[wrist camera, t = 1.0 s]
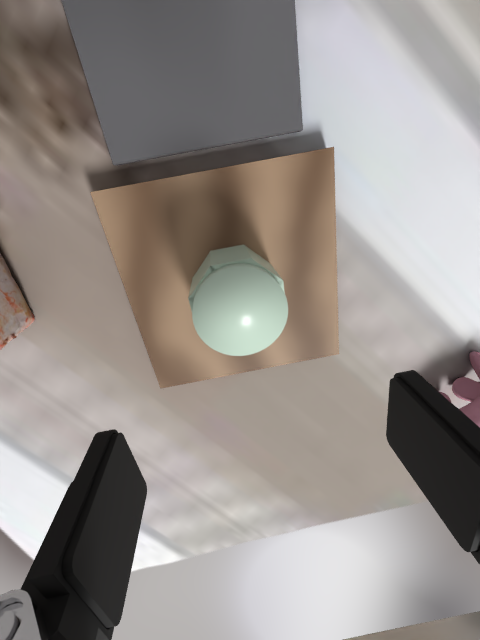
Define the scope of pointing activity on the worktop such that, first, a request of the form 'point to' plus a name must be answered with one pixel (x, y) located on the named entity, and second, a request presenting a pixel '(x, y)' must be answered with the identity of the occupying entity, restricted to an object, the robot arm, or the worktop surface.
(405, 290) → the worktop surface
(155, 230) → the post stand
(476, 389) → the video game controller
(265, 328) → the cap
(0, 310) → the food item
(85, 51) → the mat
